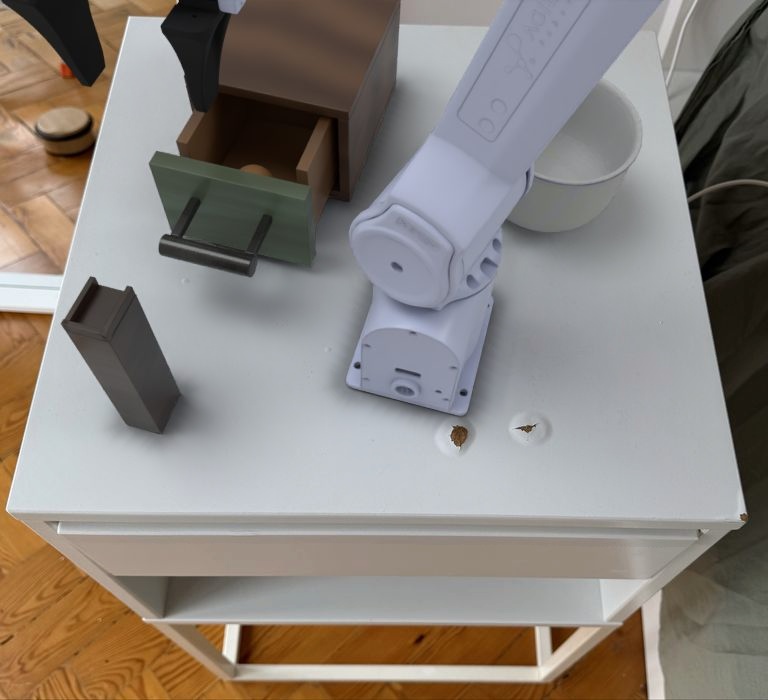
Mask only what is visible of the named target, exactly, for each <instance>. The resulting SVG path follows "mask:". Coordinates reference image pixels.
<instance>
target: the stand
mask: <svg viewBox="0 0 768 700" xmlns="http://www.w3.org/2000/svg"><path fill="white" fill-rule="evenodd" d="M60 326H61V327H62V328H63V330H64V331H65V332H66V334H67V335H68V337H69V339H70V340H71V342H72V343H73V345H74V347H75V348H76V349H77V352H78V353H79V354H80V356H81V358H82V359H83V361H84V362H85V364H86V365H87V367H88V368H89V369H90V371H91V373H92V374H93V376H94V378H95V379H96V381H97V382H98V384H99V385H100V387H101V388H102V390H103V391H104V393H105V395H106V396H107V397H108V399H109V401H110V402H111V404H112V406H113V407H114V408H115V410H116V412H117V413H118V414H119V417H120V418H121V419H122V421H123V422H124V424H125V425H126V426H130V427H133V428H138V429H141V430H144V431H149V432H152V433H155V434H160V435H162V434H163V432H164V430H165V428H166V425H167V424H168V421H169V419H170V418H171V415H172V413H173V411H174V409H175V406H176V404H177V403H178V401H179V398H180V396H181V394H182V393H181V391H180V388H179V386H178V384H177V381H176V379H175V377H174V374H173V372H172V371H171V368H170V366H169V363H168V361H167V359H166V358H165V355H164V353H163V350H162V348H161V346H160V344H159V341H158V339H157V337H156V335H155V333H154V331H153V328H152V326H151V324H150V321H149V319H148V317H147V315H146V313H145V310H144V308H143V306H142V303H141V302H140V299H139V298H138V295H137V293H136V292H135V290H134V288H133V286H131V285H126V287H125V288H124V290H121V289H118V288H113V287H110V286H106V285H102V284H99V282H98V280H97V278H96V277H95V276H92V275H90V276H89V277H88V278H87V280H86V282H85V284H84V285H83V287H82V289H81V290H80V292H79V294H78V295H77V297H76V299H75V301H73V304H72V306H71V307H70V308H69V310H68V312H67V314H66V315H65V317H64V318H63V319H62V320H61V322H60Z"/></svg>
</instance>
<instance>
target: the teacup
mask: <svg viewBox="0 0 768 700" xmlns="http://www.w3.org/2000/svg"><path fill="white" fill-rule="evenodd" d="M643 137H644V130H643V122H642V119H641V118H640V115H639V111H638V110H637V109H636V106H635V105H634V103H633V102H632V101H631V99H629V97H628V96H627V95H626V93H624V91H622V90H621V89H620V88H618V87H617V86H616V85H615V84H614V83H612V82H610V80H607V79H605V78H603V77H602V78H601V79H600V81H599V82H598V83H597V84H596V86H595V87H594V88H593V89H592V91H591V92H590V93H589V94H588V96H587V97H586V98H585V99H584V101H583V102H582V103H581V104H580V106H579V107H578V108H577V109H576V111H575V112H574V113H573V114H572V116H571V117H570V118H569V119H568V120H567V122H566V123H565V124H564V125H563V127H562V128H561V129H560V130H559V132H558V133H557V134H556V135H555V137H554V138H553V139H552V140H551V142H550V143H549V144H548V145H547V147H546V148H545V149H544V150H543V152H542V153H541V154H540V155H539V157H538V158H537V159H536V160H535V163H534V179H533V182H532V186H531V188H530V190H529V191H528V193H527V194H526V195H525V196H524V197H523V199H522V200H521V201H520V202H518V203H517V204H516V205H515V207H514V208H513V210H512V211H511V212H510V214H509V215H508V217H507V218H506V219H505V220H507V221H509V222H511V223H512V224H515V225H517V226H519V227H521V228H524V229H527V230H530V231H535V232H539V233H540V232H541V233H563V232H567V231H572V230H576V229H578V228H580V227H582V226H585V225H586V224H588V223H590V222H591V221H593V220H594V219H595V218H596V217H598V216H599V215H600V214H601V213H602V212H603V211H604V210H605V209H606V207H607V206H608V205H609V204H610V202H611V201H612V200H613V198H614V197H615V194H616V193H617V191H618V190H619V188H620V186H621V185H622V182H623V181H624V178H625V177H626V175H627V173H628V171H629V169H630V167H631V166H632V165H633V164H634V163H635V161H636V159H637V158H638V156H639V154H640V151H641V148H642V145H643Z"/></svg>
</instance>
